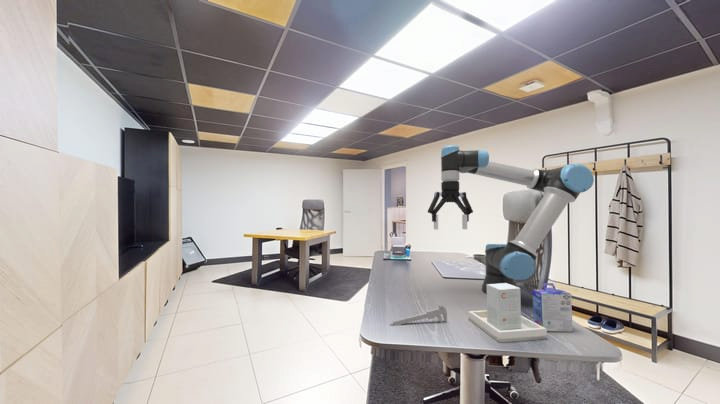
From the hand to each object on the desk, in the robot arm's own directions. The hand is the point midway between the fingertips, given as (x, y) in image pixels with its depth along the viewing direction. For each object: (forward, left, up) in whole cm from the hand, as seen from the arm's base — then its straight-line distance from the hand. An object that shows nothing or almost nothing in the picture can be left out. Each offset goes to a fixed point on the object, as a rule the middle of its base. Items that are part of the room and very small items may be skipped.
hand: (450, 229), depth 113 cm
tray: (-4, +28, -31) cm, 42 cm away
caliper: (+23, +20, -31) cm, 43 cm away
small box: (-4, +28, -30) cm, 41 cm away
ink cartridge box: (-20, +30, -31) cm, 47 cm away
